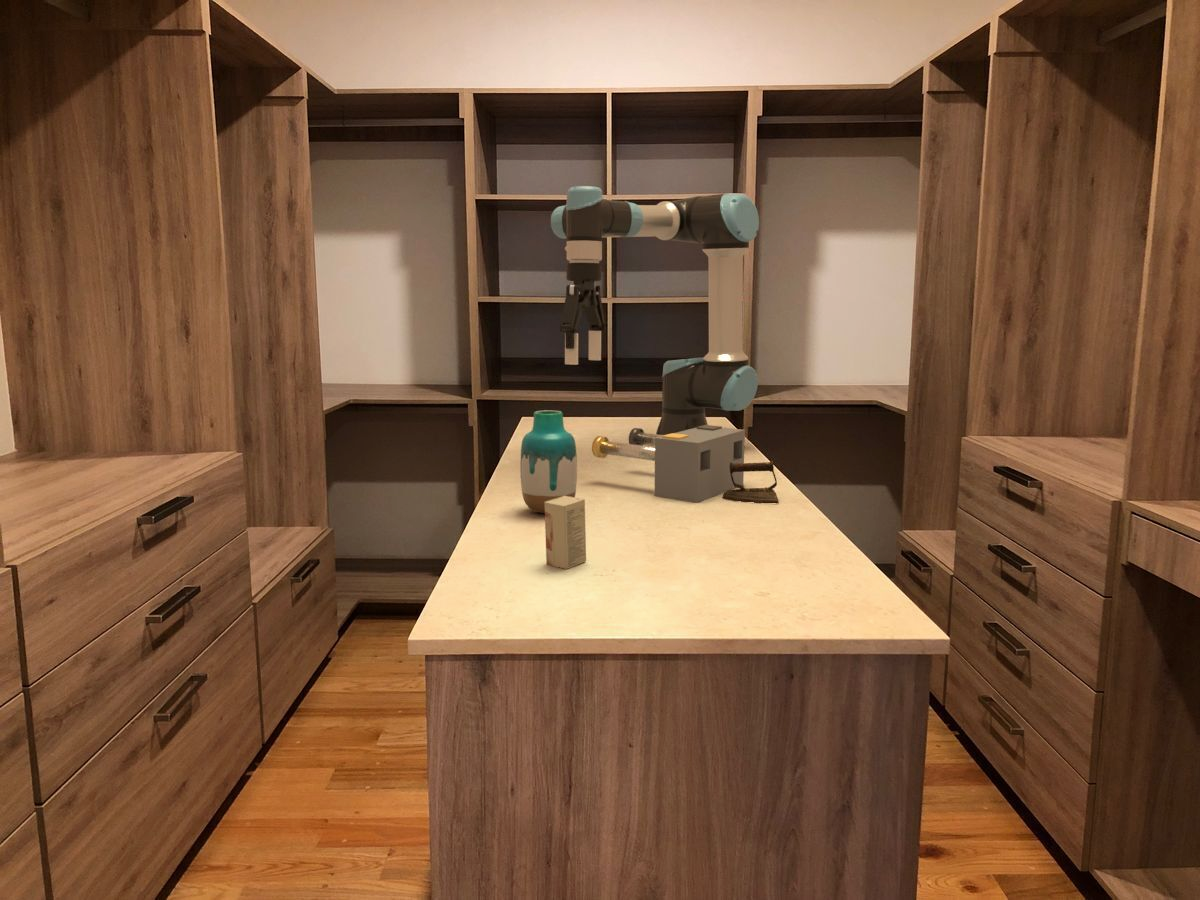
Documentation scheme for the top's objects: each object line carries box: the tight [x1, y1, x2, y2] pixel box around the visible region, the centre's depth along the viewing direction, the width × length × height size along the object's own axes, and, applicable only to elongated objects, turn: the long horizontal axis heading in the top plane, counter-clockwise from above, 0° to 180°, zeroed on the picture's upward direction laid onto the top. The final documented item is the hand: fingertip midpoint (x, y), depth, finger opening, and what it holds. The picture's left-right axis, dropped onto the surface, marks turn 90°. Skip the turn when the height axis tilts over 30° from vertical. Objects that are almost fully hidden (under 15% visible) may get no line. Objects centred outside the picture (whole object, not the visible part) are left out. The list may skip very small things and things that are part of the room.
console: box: [653, 424, 746, 504], centre depth 185 cm, size 20×10×12 cm, turn 144°
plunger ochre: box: [591, 435, 655, 462], centre depth 186 cm, size 5×20×5 cm, turn 54°
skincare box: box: [544, 496, 587, 570], centre depth 136 cm, size 5×4×10 cm
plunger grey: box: [628, 427, 663, 447], centre depth 197 cm, size 5×20×5 cm, turn 54°
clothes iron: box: [721, 460, 780, 504], centre depth 178 cm, size 7×11×10 cm, turn 85°
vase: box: [520, 409, 578, 514], centre depth 166 cm, size 11×11×19 cm
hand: (583, 362), depth 192 cm, fingers open, 13 cm apart
